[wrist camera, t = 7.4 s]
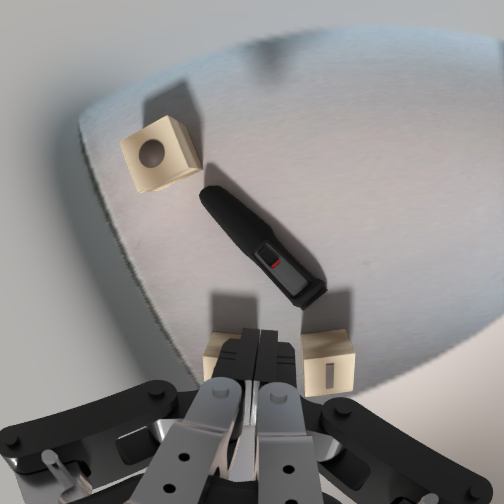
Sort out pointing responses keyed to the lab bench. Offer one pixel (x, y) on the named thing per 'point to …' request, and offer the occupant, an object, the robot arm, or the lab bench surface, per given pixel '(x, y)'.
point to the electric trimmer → (262, 246)
